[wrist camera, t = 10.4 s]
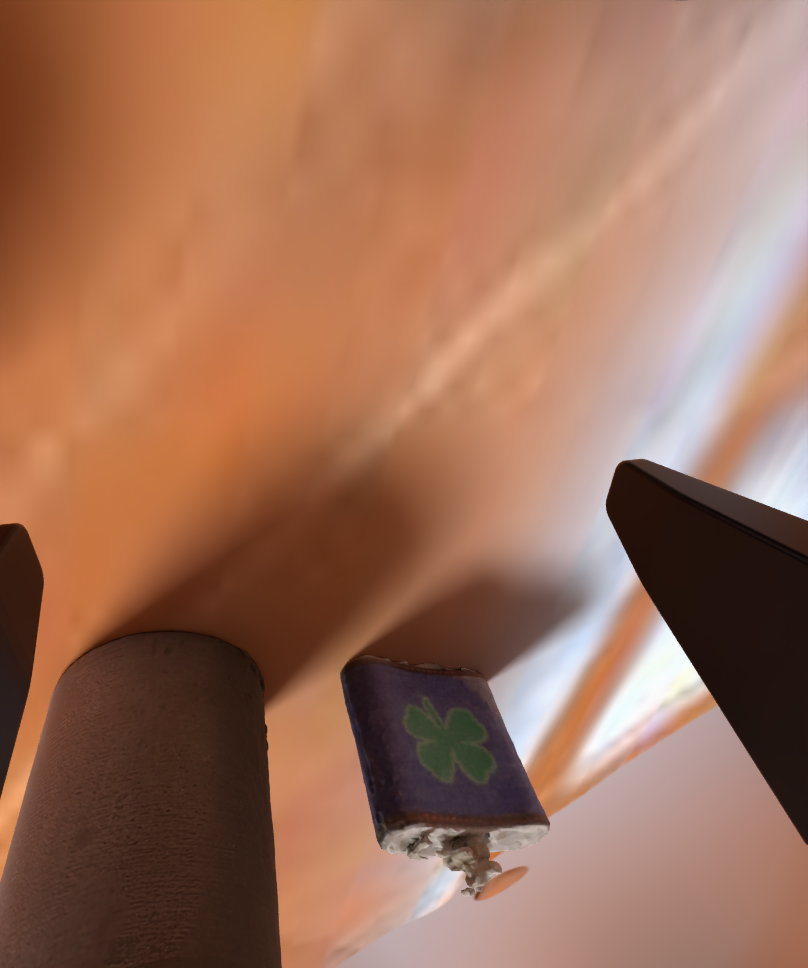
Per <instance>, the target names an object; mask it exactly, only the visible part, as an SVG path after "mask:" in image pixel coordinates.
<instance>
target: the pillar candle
mask: <svg viewBox="0 0 808 968" xmlns="http://www.w3.org/2000/svg"><path fill="white" fill-rule="evenodd" d="M264 690H265V684H264V681H263V676H262V674H261V672H260V670H259V668H258V667H257V665H256V663H255V662H254V661H253V660H252V658H251V657H250V656H249V655H248V654H247V653H245V652H243V651H242V650H240V649H238V648H236V647H235V646H233V645H231V644H228V643H226V642H223V641H221V640H219V639H216V638H213V637H207V636H203V635H199V634H194V633H186V632H158V633H152V632H148V633H142V634H136V635H131V636H126V637H123V638H121V639H118V640H113V641H111V642H109V643H107V644H105V645H103V646H100V647H97V648H95V649H94V650H92V651H90V652H89V653H87V654H85V655H84V656H82V657H81V658H80V659H78V660H77V661H76V662H74V663H73V664H72V665H71V666H70V667H69V668H68V669H67V670H66V672H65V673H64V674H63V675H62V677H61V678H60V679H59V681H58V683H57V685H56V687H55V689H54V692H53V695H52V697H51V700H50V704H49V709H48V713H47V717H46V720H45V724H44V727H43V730H42V733H41V737H40V741H39V745H38V748H37V752H36V756H35V759H34V763H33V766H32V769H31V773H30V776H29V779H28V783H27V787H26V791H25V795H24V798H23V802H22V806H21V809H20V813H19V817H18V820H17V824H16V827H15V831H14V835H13V838H12V842H11V845H10V849H9V853H8V857H7V860H6V864H5V867H4V871H3V875H2V878H1V882H0V968H282V966H281V948H280V935H279V915H278V894H277V881H276V869H275V845H274V833H273V823H272V814H271V803H270V785H269V770H268V756H267V751H268V742H267V739H266V738H267V735H266V734H267V726H266V724H265V712H264V701H263V698H264V694H263V692H264Z"/></svg>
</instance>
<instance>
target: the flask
mask: <svg viewBox="0 0 808 968" xmlns="http://www.w3.org/2000/svg"><path fill="white" fill-rule="evenodd" d="M340 679H341V682H342V687H343V693H344V698H345V704H346V707H347V711H348V715H349V718H350V723H351V727H352V731H353V735H354V737H355V742H356V746H357V750H358V755H359V759H360V764H361V769H362V774H363V779H364V783H365V786H366V791H367V796H368V801H369V805H370V810H371V814H372V819H373V823H374V828H375V832H376V837H377V841H378V843H379V845H380V847H381V849H383V850H385V851H387V852H388V853H389V854H407V856H408V857H409V858H410V859H414V860H427V859H428V858H425V857H421V856H437V857H440V858H443V865H444V866H445V867H447V868H449V869H450V870H451V871H461V870H462V871H464V872H465V873H467V876H466V878H465V881H466V883H467V885H469V887H470V888H466V889H465V890H461V894H462V896H466V897H469V896H471V895H474V894H475V891H474V889H472V888H474V887H476V890H477V891H481V892H482V890H483V887H482V886H484V885H485V884H486V883H487V882H488V881H489V880H490V879H491V877H493V876H494V875H499V874H501V873H502V868H501V866H500V865H499V863H497V862H495V861H489V860H488V859H489V857H490V852H499V851H508V850H509V851H510V850H515V849H521V848H524V847H527V846H530V845H533V844H536V843H538V842H540V841H541V840H542V839H543V837H544V836H545V835H546V834H547V832H548V831H549V826H550V822H549V820H548V818H547V816H546V814H545V811H544V809H543V808H542V806H541V804H540V802H539V800H538V798H537V796H536V794H535V791H534V789H533V787H532V785H531V783H530V781H529V778H528V776H527V774H526V771H525V769H524V767H523V765H522V763H521V760H520V758H519V757H518V755H517V752H516V749H515V747H514V744H513V742H512V740H511V738H510V736H509V734H508V732H507V729H506V727H505V724H504V722H503V719H502V717H501V714H500V712H499V710H498V707H497V705H496V703H495V700H494V697H493V695H492V692H491V690H490V688H489V686H488V683H487V681H486V679H485V678H484V676H483V675H481V674H479V673H477V672H476V671H474V670H470V669H467V668H461V671H459V670H455V669H450V668H446V667H442V666H441V665H435V664H434V663H433V664H428V663H425V664H423V663H422V665H421V664H419V665H415V666H413V665H409V664H408V661H405V662H404V661H403V662H399V663H397V662H393V661H391V660H389V658H388V659H386V658H385V659H381V658H379V657H374V656H371V655H364V656H360V657H358V658H354V659H352V660H350V661H349V662H347V663H346V665H345V666H344V668H343V669H342V671H341V672H340Z"/></svg>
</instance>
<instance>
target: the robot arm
mask: <svg viewBox="0 0 808 968" xmlns="http://www.w3.org/2000/svg"><path fill="white" fill-rule="evenodd" d="M606 510H607V514H608V517H609V519H610V521H611V523H612V525H613V527H614V529H615V531H616V533H617V535H618V537H619V539H620V541H621V543H622V545H623V547H624V549H625V551H626V553H627V555H628V557H629V559H630V561H631V563H632V565H633V567H634V569H635V571H636V573H637V575H638V577H639V579H640V581H641V583H642V585H643V586H644V588H645V590H646V591H647V593H648V595H649V597H650V598H651V600H652V601H653V603H654V605H655V606H656V608H657V609H658V611H659V612H660V614H661V616H662V617H663V619H664V620H665V622H666V624H667V625H668V627H669V628H670V630H671V631H672V633H673V635H674V636H675V638H676V639H677V641H678V643H679V644H680V646H681V647H682V649H683V650H684V652H685V654H686V655H687V657H688V658H689V660H690V662H691V663H692V665H693V666H694V668H695V669H696V671H697V673H698V674H699V676H700V677H701V679H702V681H703V682H704V684H705V685H706V687H707V688H708V690H709V692H710V693H711V695H712V696H713V698H714V700H715V701H716V703H717V704H718V706H719V707H720V709H721V711H722V712H723V714H724V715H725V717H726V718H727V720H728V722H729V723H730V725H731V726H732V728H733V730H734V731H735V733H736V734H737V736H738V738H739V739H740V741H741V742H742V744H743V745H744V747H745V748H746V750H747V751H748V753H749V755H750V756H751V758H752V760H753V761H754V763H755V764H756V766H757V768H758V769H759V771H760V772H761V774H762V775H763V777H764V779H765V780H766V782H767V783H768V785H769V786H770V788H771V790H772V791H773V793H774V795H775V796H776V798H777V799H778V801H779V802H780V804H781V805H782V807H783V808H784V810H785V812H786V813H787V815H788V817H789V818H790V820H791V821H792V823H793V825H794V826H795V827H796V829H797V831H798V832H799V834H800V836H801V837H802V839H803V840H804V842H805V843H806V844H807V845H808V521H807V520H804V519H801V518H799V517H796V516H793V515H791V514H788V513H786V512H783V511H780V510H778V509H775V508H772V507H770V506H767V505H764V504H762V503H759V502H757V501H754V500H751V499H749V498H746V497H743V496H741V495H738V494H735V493H733V492H730V491H728V490H725V489H722V488H720V487H717V486H714V485H712V484H709V483H706V482H704V481H701V480H699V479H696V478H693V477H691V476H688V475H685V474H683V473H680V472H677V471H675V470H672V469H670V468H667V467H664V466H662V465H659V464H656V463H654V462H651V461H649V460H645V459H635V460H626V461H622V462H620V463H619V464H618V466H617V467H616V469H615V473H614V476H613V479H612V483H611V486H610V489H609V493H608V496H607V499H606ZM43 586H44V578H43V571H42V568H41V565H40V563H39V560H38V557H37V555H36V552H35V550H34V547H33V544H32V542H31V539H30V537H29V534H28V532H27V530H26V529H25V527H24V526H23V525H21V524H19V523H12V524H2V525H0V798H1V794H2V790H3V786H4V783H5V779H6V775H7V772H8V768H9V764H10V760H11V757H12V753H13V749H14V746H15V742H16V738H17V734H18V731H19V727H20V723H21V719H22V716H23V712H24V708H25V705H26V701H27V696H28V692H29V688H30V683H31V677H32V670H33V663H34V655H35V648H36V640H37V632H38V625H39V617H40V610H41V602H42V594H43Z"/></svg>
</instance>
